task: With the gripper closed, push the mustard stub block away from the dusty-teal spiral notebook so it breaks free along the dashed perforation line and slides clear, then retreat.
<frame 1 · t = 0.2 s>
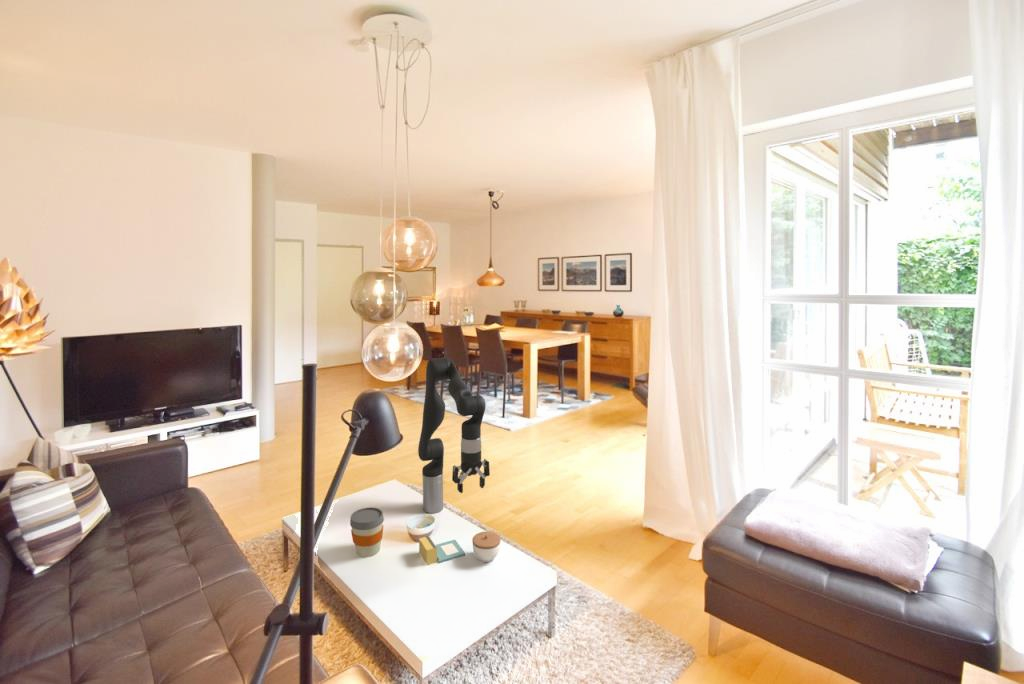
hand: (471, 489, 182), 28 cm above the table, fingers open, 8 cm apart
lidded jar: (486, 557, 187), on the table
spiral notebook: (447, 551, 191), on the table
stub: (427, 549, 187), point 3 cm above the table, slide at 0.0 cm
reusable coffee cup: (368, 551, 191), on the table
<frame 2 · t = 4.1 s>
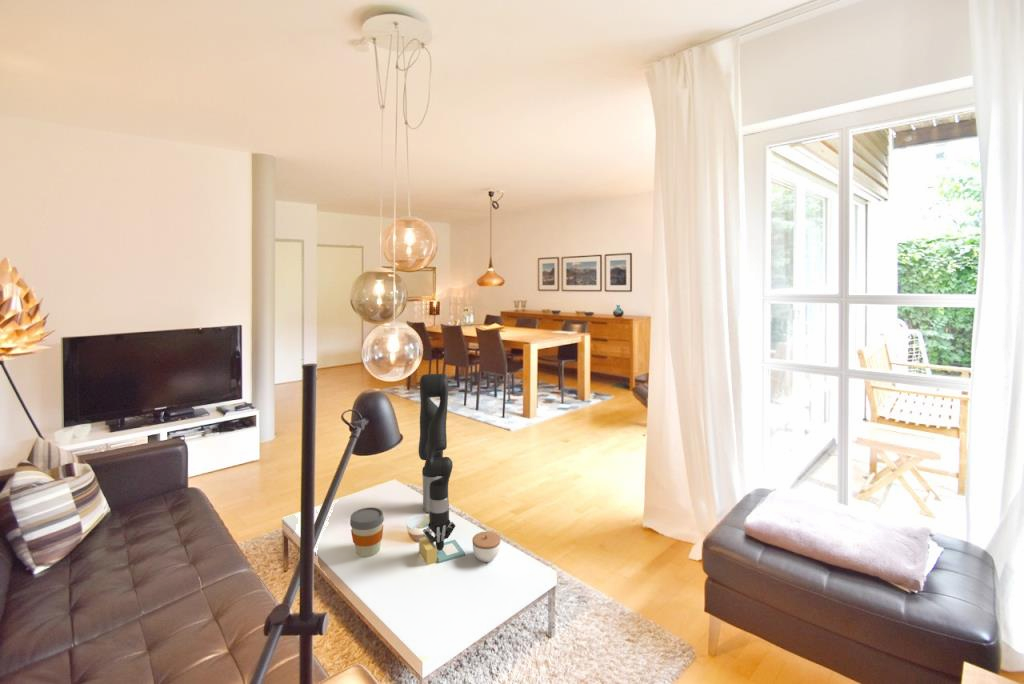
hand: (439, 549, 189), 2 cm above the table, fingers closed
stub: (427, 549, 187), point 3 cm above the table, slide at 0.0 cm, touching gripper
everything else where it was.
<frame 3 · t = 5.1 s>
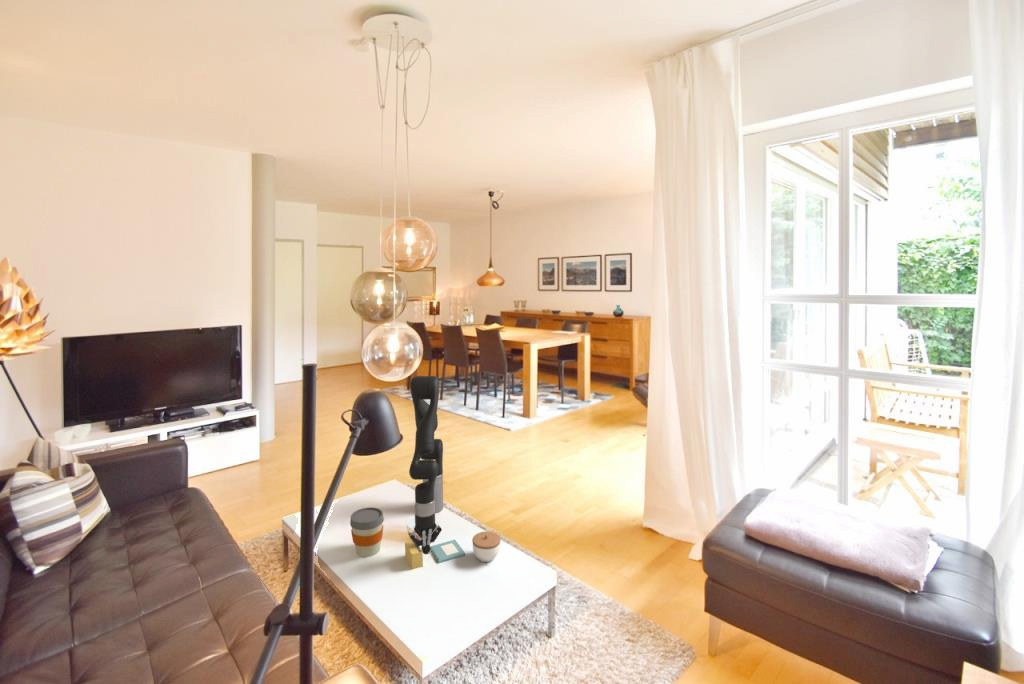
hand: (425, 553, 186), 2 cm above the table, fingers closed
stub: (413, 553, 184), point 3 cm above the table, slide at 5.6 cm, touching gripper
everything else where it was.
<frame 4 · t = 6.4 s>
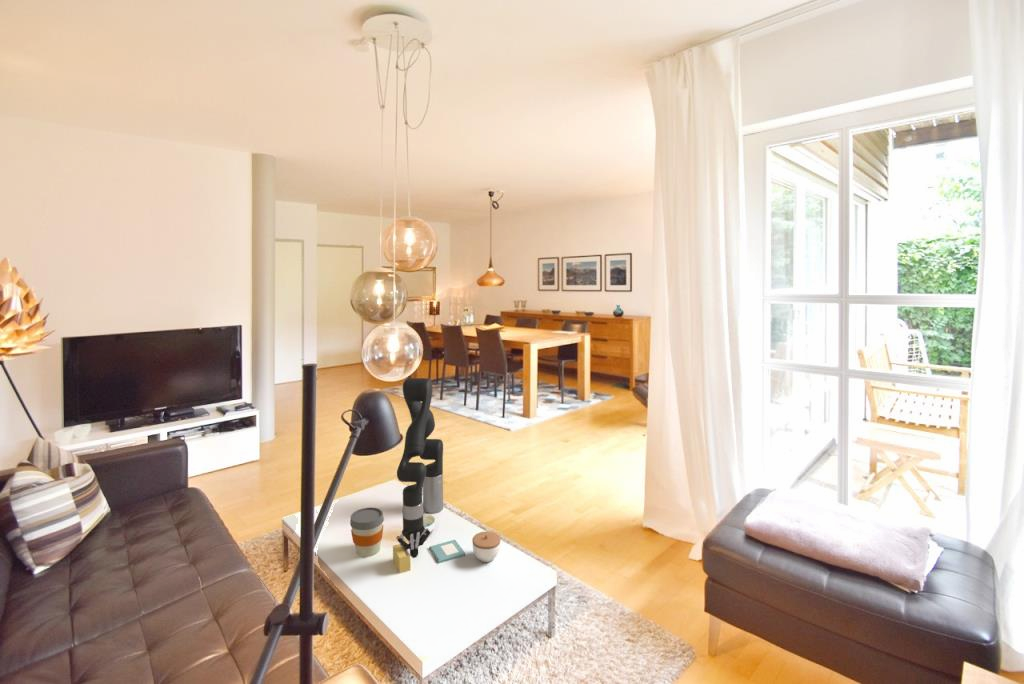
hand: (414, 556, 184), 2 cm above the table, fingers closed
stub: (401, 557, 182), point 3 cm above the table, slide at 10.3 cm, touching gripper
everything else where it was.
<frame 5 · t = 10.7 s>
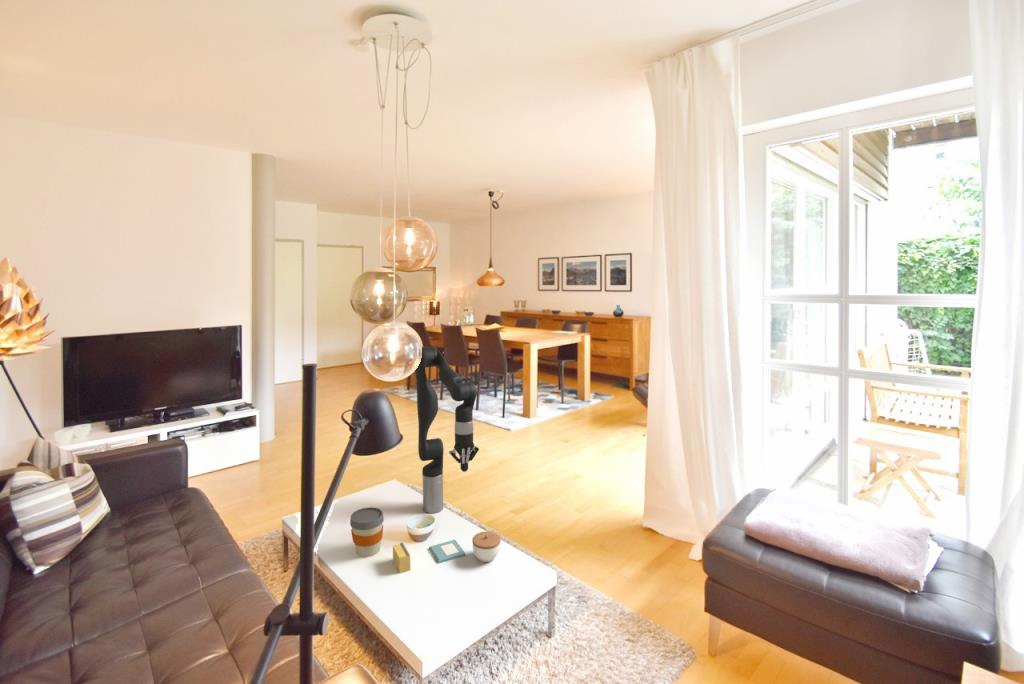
hand: (464, 470, 202), 27 cm above the table, fingers closed
stub: (401, 557, 182), point 3 cm above the table, slide at 10.3 cm
everything else where it was.
at the end: stub slide at 10.3 cm; stub touching nothing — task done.
